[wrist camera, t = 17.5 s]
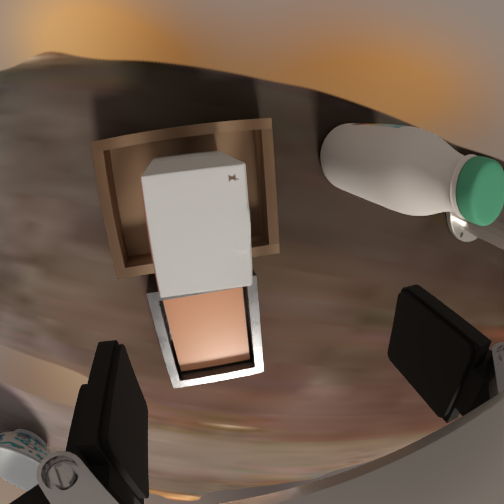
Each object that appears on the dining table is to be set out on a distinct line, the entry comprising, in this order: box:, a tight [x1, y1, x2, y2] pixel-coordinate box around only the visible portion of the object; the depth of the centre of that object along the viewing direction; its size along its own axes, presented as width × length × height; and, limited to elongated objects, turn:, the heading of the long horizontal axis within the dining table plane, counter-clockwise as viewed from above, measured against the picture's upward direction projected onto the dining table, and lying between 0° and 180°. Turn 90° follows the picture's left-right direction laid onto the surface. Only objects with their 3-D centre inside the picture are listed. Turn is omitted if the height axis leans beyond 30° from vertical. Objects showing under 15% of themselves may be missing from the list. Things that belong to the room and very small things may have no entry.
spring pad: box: [163, 287, 250, 372], centre depth 36 cm, size 8×10×1 cm
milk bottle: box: [320, 123, 504, 226], centre depth 25 cm, size 8×8×20 cm
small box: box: [140, 150, 253, 298], centre depth 25 cm, size 8×6×13 cm
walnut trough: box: [91, 118, 280, 279], centre depth 30 cm, size 16×13×4 cm
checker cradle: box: [147, 269, 264, 388], centre depth 36 cm, size 11×13×4 cm
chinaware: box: [0, 429, 52, 491], centre depth 35 cm, size 15×15×8 cm
